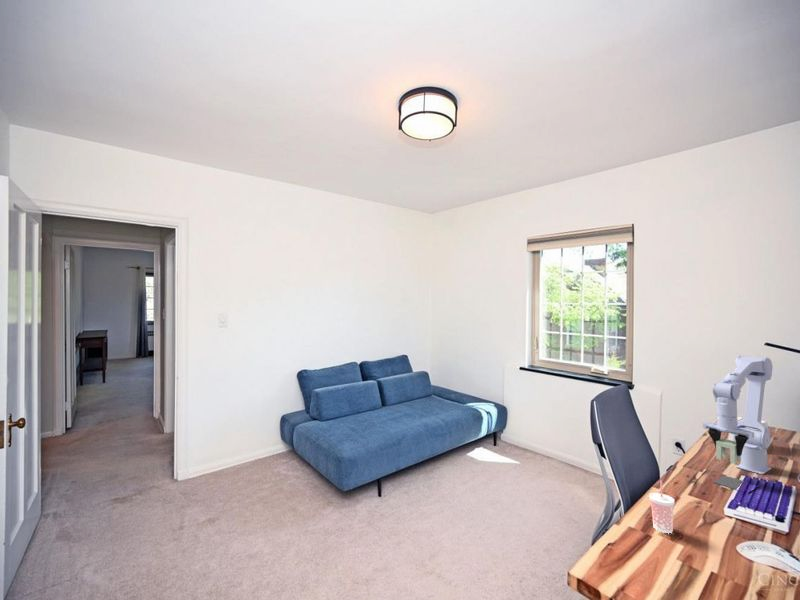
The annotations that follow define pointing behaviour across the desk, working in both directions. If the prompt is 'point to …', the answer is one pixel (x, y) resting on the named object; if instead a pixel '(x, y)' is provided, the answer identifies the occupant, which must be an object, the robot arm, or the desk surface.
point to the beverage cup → (662, 511)
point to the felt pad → (728, 482)
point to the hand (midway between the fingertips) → (728, 452)
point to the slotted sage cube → (722, 450)
